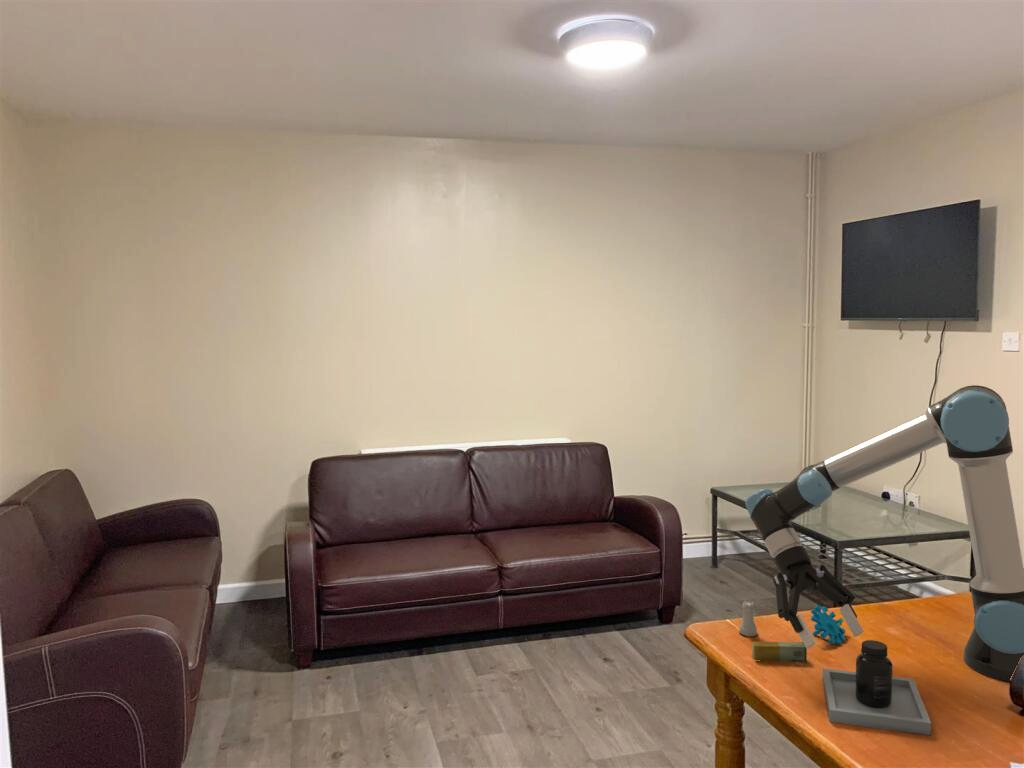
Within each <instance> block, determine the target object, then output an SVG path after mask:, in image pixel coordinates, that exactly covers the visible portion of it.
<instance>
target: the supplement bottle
mask: <svg viewBox="0 0 1024 768" xmlns="http://www.w3.org/2000/svg"><path fill="white" fill-rule="evenodd" d="M860 652H861V653H859V654H858V655H857V656H856V659H855V672H856V689H855V691H856V692H855V693H856V698H857V700H858V701H859V702H860V703H862V704H864V705H866V706H869V707H874V708H885V707H888V706H889V705H890V704H891V702H892V677H893V662H892V660H891V659H890V658H889V657H888V653H889V652H888V645H887V644H886V643H884V642H882V641H879V640H873V639H866V640H863V641H862V643H861V648H860Z"/></svg>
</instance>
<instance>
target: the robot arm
mask: <svg viewBox="0 0 1024 768" xmlns="http://www.w3.org/2000/svg"><path fill="white" fill-rule="evenodd" d="M942 444H946V449H947V454H948V458H949V459H951V460H952V461H954V462H955V463H956V464H957V465H958V466H957V467H958V471H959V478H960V484H961V488H962V489H961V490H962V495H963V501H964V507H965V512H966V513H965V514H966V518H967V519H966V521H967V524H968V525H967V527H968V530H969V531H968V532H969V537H970V543H971V549H972V555H973V560H974V567H975V576H974V577H973V578H972V579H971V580H970V581H969V587H970V593H971V600H972V605H973V612H974V616H973V629H972V631H971V634H970V636H969V638H968V639H967V641H966V644H965V646H964V648H963V649H964V650H963V662H965V664H966V665H967V666H968V667H970V669H973V670H974V671H976V672H978V673H979V674H983V675H985V676H988V677H991V678H994V679H998V680H1002V681H1008V682H1011V681H1010V678H1011V676H1012V674H1013V672H1014V670H1015V668H1016V666H1017V665H1018V662H1019V660H1020V658H1021V657H1022V656H1023V655H1024V563H1023V559H1022V558H1023V557H1022V551H1021V547H1020V546H1021V545H1020V539H1019V533H1018V528H1017V527H1018V526H1017V521H1016V516H1015V508H1014V502H1013V497H1012V489H1011V485H1010V479H1009V478H1010V477H1009V471H1008V467H1007V459H1008V458H1009V457H1010V456H1011V455H1012V454H1013V453H1014V449H1013V441H1012V437H1011V431H1010V417H1009V413H1008V411H1007V406H1006V403H1005V401H1004V400H1003V398H1002V397H1001V395H1000V394H999V393H998V392H996V390H993V389H991V388H990V387H988V386H984V385H974V384H972V385H967V386H964V387H960V388H959V389H957V390H955V391H954V392H952V393H950V394H949V395H947V396H946V397H944V398H943V399H941V400H938V401H937V402H935V403H934V404H931V405H929V406H928V407H927V408H926V411H925V413H923V414H921V415H919V416H916V417H914V418H912V419H909V420H907V421H905V422H904V423H901V424H899V425H896V426H895V427H893V428H891V429H888V430H886V431H884V432H882V433H880V434H878V435H875V436H873V437H871V438H869V439H867V440H864V441H862V442H860V443H858V444H856V445H854V446H852V447H850V448H847V449H846V450H843V451H841V452H839V453H837V454H834V455H832V456H830V457H828V458H826V459H825V460H822V461H820V462H818V463H816V464H809V465H808V466H806V467H804V468H802V471H800V472H799V474H797V476H796V477H795V478H794V479H793V480H792V481H790V482H789V483H787V484H785V486H783V487H782V488H780V489H779V490H777V491H775V492H774V490H772V489H770V488H762V489H759V490H758V491H755V492H753V493H751V494H749V496H748V497H747V498H746V500H745V503H744V504H745V507H746V510H747V513H748V514H749V516H750V517H749V518H750V519H751V521H752V523H753V524H754V526H755V528H756V530H757V531H758V533H759V534H760V535H759V536H760V537H761V539H762V541H763V543H764V544H765V547H766V549H767V550H768V552H769V554H770V556H771V558H773V562H774V563H775V566H776V567H777V570H778V573H777V574H776V575H775V576H774V577H773V578H772V581H773V584H774V587H775V592H776V593H775V594H776V606H777V607H776V608H777V616H778V617H779V619H784V620H785V621H786V622H789V623H790V624H791V627H792V628H793V631H794V632H795V633H796V634H798V635H799V637H800V640H801V642H803V643H804V645H805V647H806V649H807V650H808V649H809V648H812V646H814V645H815V644H816V640H815V638H814V637H813V636H814V635H813V634H812V633H811V631H810V629H809V628H808V625H807V623H806V622H805V620H804V618H803V615H802V614H798V608H799V602H800V595H801V593H803V592H805V591H807V592H809V591H814V592H818V593H820V594H821V595H822V596H824V597H825V598H827V599H829V601H831V602H832V603H834V604H835V605H837V606H839V607H840V608H839V609H838V611H839V612H840V614H841V616H842V617H843V618H842V619H843V621H845V623H846V625H847V627H848V628H849V630H850V632H851V634H852V636H853V637H854V638H855V637H858V636H859V635H861V634H863V633H864V629H863V627H862V626H861V624H860V622H859V621H858V615H857V612H855V610H854V607H853V606H852V605H851V603H852V602H853V601H854V600H855V599H856V597H855V595H854V594H853V593H852V592H851V591H850V590H849V589H848V588H846V587H845V586H844V585H843V584H842V583H841V582H840V581H839V580H838V579H837V578H836V577H835V576H834V575H832V574H831V573H830V571H829V570H828V568H827V567H826V566H825V565H824V564H820V566H818V567H814V566H813V565H812V561H811V557H810V555H809V554H808V552H807V550H806V548H805V547H804V546H803V542H802V541H801V539H800V538H799V536H798V534H797V533H796V531H795V529H794V527H793V525H792V521H794V520H796V519H797V518H798V517H800V516H801V515H803V514H805V513H807V512H808V511H810V510H812V509H814V508H815V507H817V506H818V505H823V503H824V502H825V501H826V500H828V499H829V498H831V497H832V495H833V492H835V491H837V490H838V489H839V490H840V488H843V487H845V486H848V485H850V484H852V483H855V482H857V481H859V480H862V479H863V478H866V477H868V476H870V475H873V474H874V473H877V472H880V471H882V470H884V469H886V468H888V467H891V466H893V465H896V464H898V463H900V462H902V461H905V460H906V459H910V458H913V456H917V455H919V454H920V453H923V452H925V451H928V450H930V449H932V448H935V447H937V446H939V445H942ZM787 584H788V585H789V589H787V588H788V587H787ZM788 590H789V591H788ZM788 593H789V595H788ZM788 596H789V597H788ZM797 614H798V615H797Z"/></svg>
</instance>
